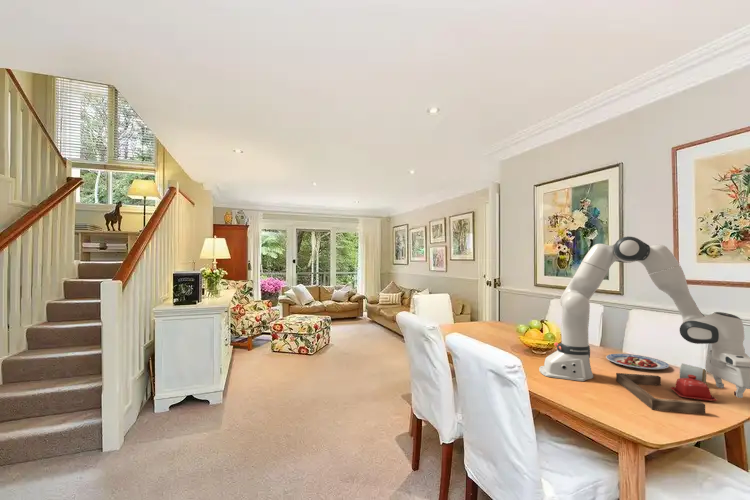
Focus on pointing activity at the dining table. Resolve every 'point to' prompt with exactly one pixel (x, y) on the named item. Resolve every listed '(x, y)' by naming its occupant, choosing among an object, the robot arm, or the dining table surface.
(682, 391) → the butter dish
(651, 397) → the dock
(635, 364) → the ceramic plate
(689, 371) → the ceramic mug
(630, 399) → the dining table surface
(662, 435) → the dining table surface
